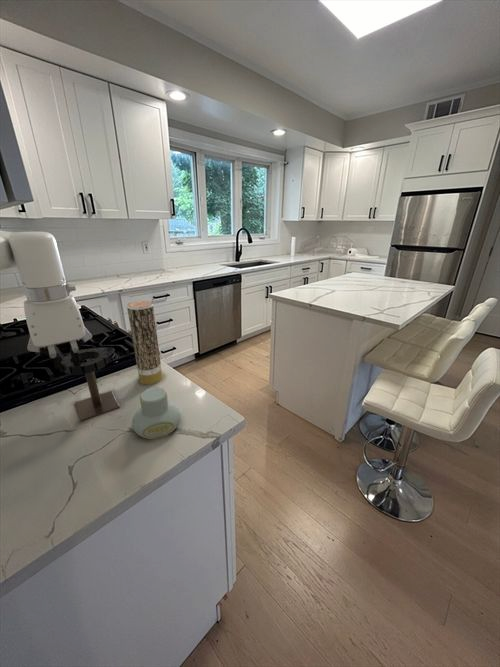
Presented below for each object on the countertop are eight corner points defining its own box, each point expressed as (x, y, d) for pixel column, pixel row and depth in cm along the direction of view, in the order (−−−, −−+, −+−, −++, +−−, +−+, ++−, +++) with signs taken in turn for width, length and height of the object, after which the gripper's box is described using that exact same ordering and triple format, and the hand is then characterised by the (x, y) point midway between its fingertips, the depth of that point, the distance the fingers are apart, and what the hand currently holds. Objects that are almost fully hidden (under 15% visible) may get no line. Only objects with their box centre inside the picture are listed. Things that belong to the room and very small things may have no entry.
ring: (65, 379, 62) (63, 371, 61) (60, 362, 69) (58, 355, 69) (113, 366, 68) (112, 359, 67) (104, 351, 75) (102, 345, 74)
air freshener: (134, 447, 62) (127, 410, 58) (133, 423, 69) (127, 389, 65) (184, 434, 65) (180, 399, 62) (178, 413, 72) (175, 380, 69)
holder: (82, 425, 68) (69, 381, 63) (76, 406, 75) (65, 365, 70) (120, 411, 73) (112, 369, 68) (112, 394, 80) (104, 356, 75)
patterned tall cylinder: (161, 374, 91) (152, 300, 81) (163, 384, 85) (153, 306, 75) (139, 377, 88) (127, 302, 79) (140, 389, 82) (126, 308, 73)
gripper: (86, 285, 67) (102, 353, 74) (-1, 294, 57) (26, 371, 65) (92, 291, 61) (108, 364, 68) (-3, 303, 52) (27, 386, 59)
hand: (68, 367), depth 66 cm, fingers closed on ring, 2 cm apart
